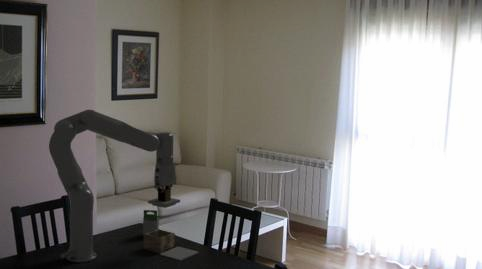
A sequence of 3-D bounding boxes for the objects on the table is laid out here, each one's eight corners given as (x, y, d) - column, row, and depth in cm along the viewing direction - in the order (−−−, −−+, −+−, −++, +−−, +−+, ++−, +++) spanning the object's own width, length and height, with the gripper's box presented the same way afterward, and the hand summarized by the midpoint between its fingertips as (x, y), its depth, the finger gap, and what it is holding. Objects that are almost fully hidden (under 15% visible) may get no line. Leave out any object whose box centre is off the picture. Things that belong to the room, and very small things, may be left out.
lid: (165, 208, 244) (165, 193, 243) (148, 205, 250) (148, 189, 249) (179, 204, 253) (180, 189, 252) (162, 201, 258) (162, 185, 257)
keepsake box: (160, 253, 248) (160, 238, 247) (143, 249, 254) (143, 234, 253) (174, 247, 256) (174, 233, 256) (158, 243, 262) (158, 229, 261)
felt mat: (180, 260, 240) (180, 259, 240) (159, 254, 246) (159, 253, 246) (198, 252, 251) (198, 251, 251) (178, 247, 257) (178, 246, 257)
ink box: (158, 234, 275) (159, 208, 274) (156, 237, 271) (157, 210, 270) (145, 234, 276) (145, 207, 274) (142, 236, 272) (143, 209, 270)
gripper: (159, 163, 240) (158, 205, 242) (182, 158, 254) (181, 198, 256) (146, 161, 244) (145, 202, 246) (169, 157, 258) (169, 195, 260)
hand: (164, 199), depth 251 cm, fingers closed on lid, 3 cm apart
